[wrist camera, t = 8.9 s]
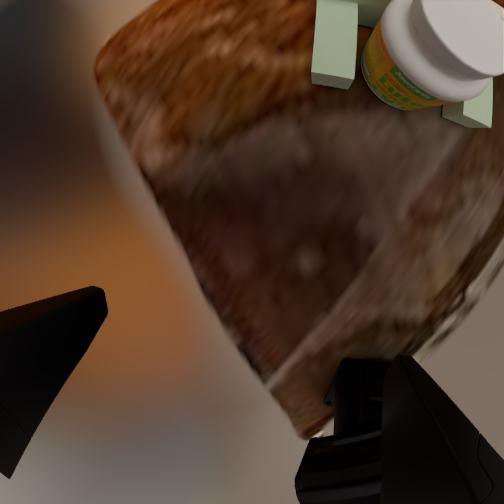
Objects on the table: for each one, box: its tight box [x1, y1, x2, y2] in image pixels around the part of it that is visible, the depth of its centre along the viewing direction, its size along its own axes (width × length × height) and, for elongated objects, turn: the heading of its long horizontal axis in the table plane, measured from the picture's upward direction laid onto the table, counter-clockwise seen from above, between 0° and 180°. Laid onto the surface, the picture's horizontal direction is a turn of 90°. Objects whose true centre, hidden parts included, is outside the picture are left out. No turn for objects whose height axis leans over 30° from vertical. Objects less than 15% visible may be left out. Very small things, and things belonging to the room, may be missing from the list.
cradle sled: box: [311, 0, 504, 128], centre depth 9 cm, size 7×11×6 cm, turn 84°
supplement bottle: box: [361, 0, 504, 110], centre depth 8 cm, size 5×5×10 cm
